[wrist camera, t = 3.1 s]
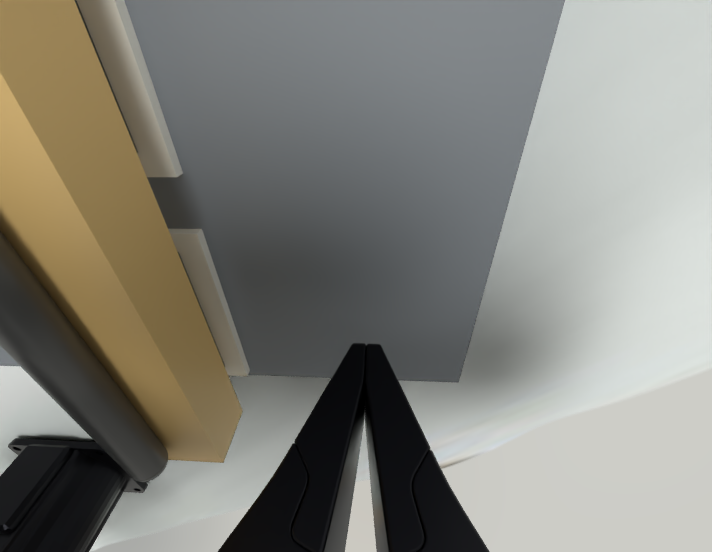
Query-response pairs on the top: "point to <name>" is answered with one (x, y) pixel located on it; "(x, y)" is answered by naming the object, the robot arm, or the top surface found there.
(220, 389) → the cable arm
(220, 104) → the panel
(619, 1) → the top surface
